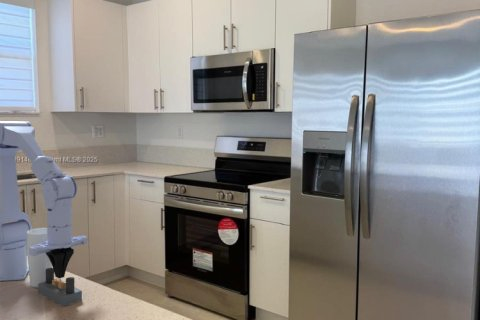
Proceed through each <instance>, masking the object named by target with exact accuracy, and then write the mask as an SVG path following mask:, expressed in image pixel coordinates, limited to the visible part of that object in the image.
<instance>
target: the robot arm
mask: <svg viewBox="0 0 480 320" xmlns="http://www.w3.org/2000/svg"><path fill="white" fill-rule="evenodd" d="M35 133H36V131H35V128H34V126H33V125H32V122H30V121H27V120H26V121H25V120H24V121H18V120H17V121H16V120H15V121H10V120H9V121H6V120H3V121H2V120H0V281H19V280H20V281H21V280H22V281H23V280H25V278H26V277H27V275H28V274H29V266H28V256H27V245H26V237H27V231H28V230H31V229H33V226H32V223H31V222H30V215H29V214H27V213H26V212H24V211H22V210H21V205H20V204H21V203H20V195H19V185H18V174H17V173H18V172H17V163H16V155H17V154H18V152H20V151H21V152H22V153H23V154H24V156H26V158H27V159H28V160H29V161H30V163H31V166H30V170H31V171H32V173H33V174H34V176H35V177H36V178H37V181H38V182H39V183H40V184H41V187H42V188H41V195H42V197H43V201H44V205H45V206H44V207H45V208H46V218H47V219H46V220H47V221H46V225H47V226H46V228H47V241H46V242H44V243H41V244H38V245H35V246H32V247H29V255H31V256H37V255H38V254H42V253H46V255H47V256H48V258H49V260H50V262H51V264H52V268H53V269H54V278H55V277H56V278H60V279H63V278H65V275H66V271H67V268H68V265H69V262H70V260H71V258H72V256H73V255H74V253H75V249H74V248H72V247H75V246H80V245H88V236H86V235H79V236H78V235H77V236H72V235H73V199H74V198H75V197H76V195H77V192H78V186H77V182H76V180H75V178H74V176H71V175H68V174H67V173H63V171H62V170H61V168H60V167H59V166H58V165H57V163H56V162H55V160H54V159H53V158H52V157H51V156H47V155H45V154H44V152H43V151H42V149H41V147H40V145H39V144H38V142H37V140H36V138H35V137H36V134H35Z"/></svg>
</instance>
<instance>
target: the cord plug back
mask: <svg viewBox="0 0 480 320" xmlns="http://www.w3.org/2000/svg"><path fill="white" fill-rule="evenodd" d="M53 279H55V273H54V269H53V267H52V268H47V269H46V283H47V284H50V283H52V280H53Z"/></svg>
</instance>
